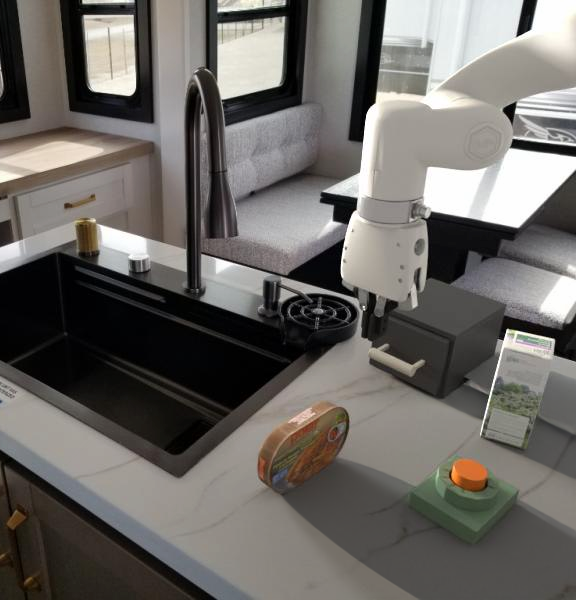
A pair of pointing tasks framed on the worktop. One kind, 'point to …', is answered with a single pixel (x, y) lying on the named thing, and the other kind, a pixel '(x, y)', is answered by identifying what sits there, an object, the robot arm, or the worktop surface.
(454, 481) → the button
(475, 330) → the grey drawer box
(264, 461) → the tin
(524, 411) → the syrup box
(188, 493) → the worktop surface
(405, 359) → the dark grey drawer
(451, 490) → the green button base
